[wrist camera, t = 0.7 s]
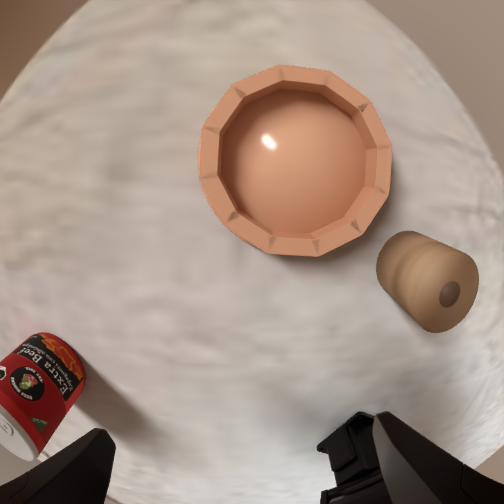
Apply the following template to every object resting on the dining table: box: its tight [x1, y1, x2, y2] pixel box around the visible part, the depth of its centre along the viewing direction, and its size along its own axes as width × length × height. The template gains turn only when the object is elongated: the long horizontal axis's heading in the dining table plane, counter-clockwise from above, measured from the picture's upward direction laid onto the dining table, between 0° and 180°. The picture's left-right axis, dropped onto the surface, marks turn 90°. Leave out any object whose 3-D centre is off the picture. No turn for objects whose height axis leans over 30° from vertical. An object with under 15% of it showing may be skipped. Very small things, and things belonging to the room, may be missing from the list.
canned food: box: [0, 332, 85, 462], centre depth 17 cm, size 8×8×11 cm
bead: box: [376, 231, 479, 333], centre depth 16 cm, size 5×5×6 cm
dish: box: [198, 65, 392, 257], centre depth 16 cm, size 12×12×3 cm
